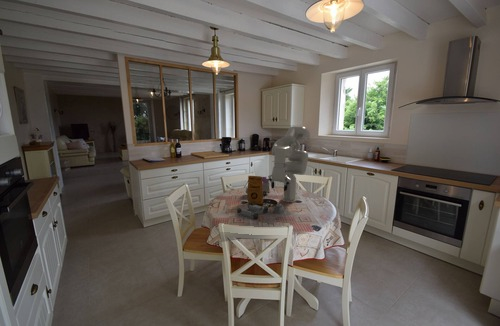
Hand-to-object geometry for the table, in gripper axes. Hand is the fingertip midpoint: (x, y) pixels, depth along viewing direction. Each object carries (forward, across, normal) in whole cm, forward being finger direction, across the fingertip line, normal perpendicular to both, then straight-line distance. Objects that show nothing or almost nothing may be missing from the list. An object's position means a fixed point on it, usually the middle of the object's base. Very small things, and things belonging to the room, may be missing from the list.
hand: (278, 189), depth 155 cm
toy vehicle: (+17, +32, -22) cm, 43 cm away
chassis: (+17, +14, +12) cm, 25 cm away
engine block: (+17, 0, 0) cm, 17 cm away
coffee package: (+17, +23, -6) cm, 29 cm away
